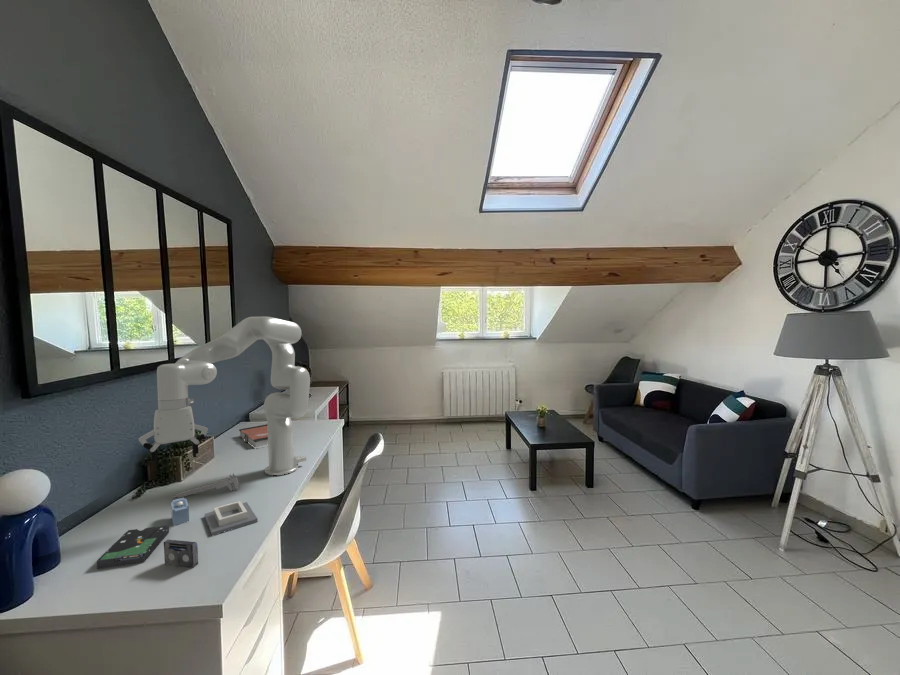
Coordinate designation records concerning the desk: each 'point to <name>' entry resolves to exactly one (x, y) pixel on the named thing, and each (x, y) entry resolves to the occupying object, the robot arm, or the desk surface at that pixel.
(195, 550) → the mini dv tape
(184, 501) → the servo block
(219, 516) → the plate
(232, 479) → the caliper
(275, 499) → the desk surface
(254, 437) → the book
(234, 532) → the desk surface
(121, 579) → the desk surface
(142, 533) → the disk drive
